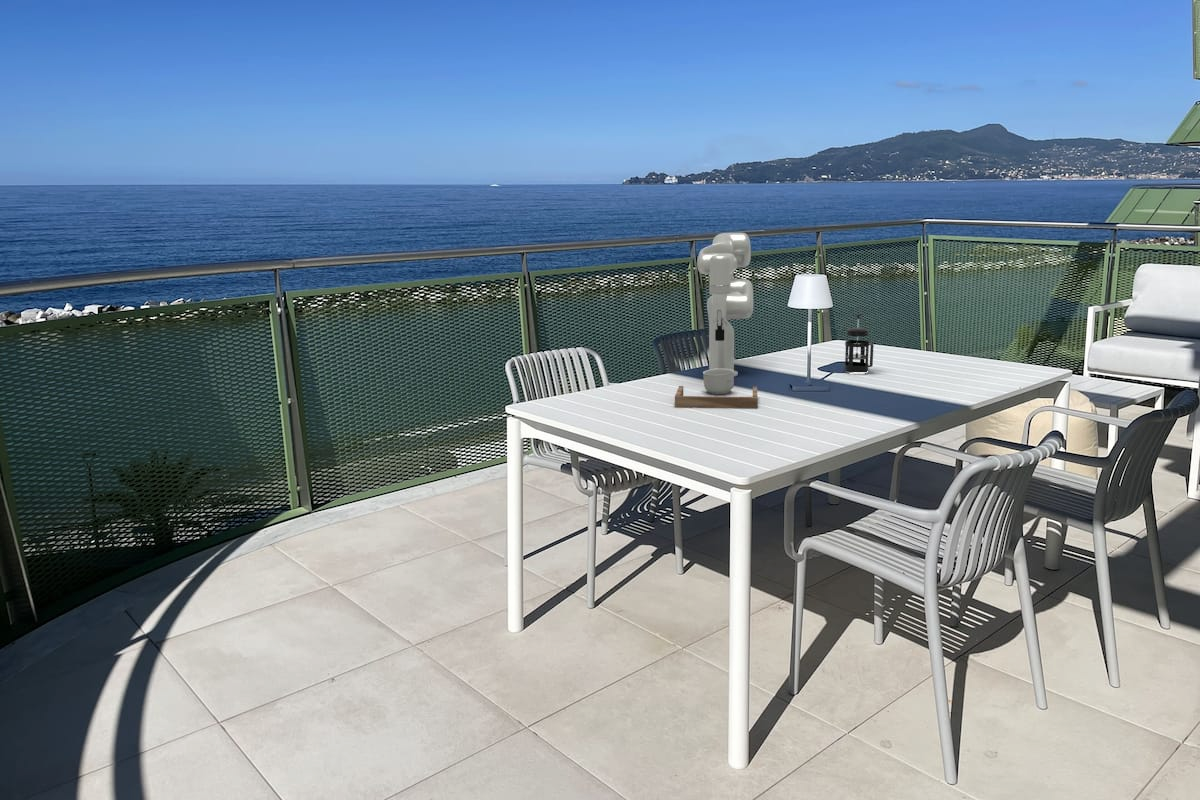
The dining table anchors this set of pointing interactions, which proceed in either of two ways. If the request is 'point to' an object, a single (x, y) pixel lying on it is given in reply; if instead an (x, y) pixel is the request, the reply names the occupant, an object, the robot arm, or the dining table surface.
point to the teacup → (718, 380)
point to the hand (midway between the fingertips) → (719, 340)
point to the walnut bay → (715, 401)
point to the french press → (857, 343)
